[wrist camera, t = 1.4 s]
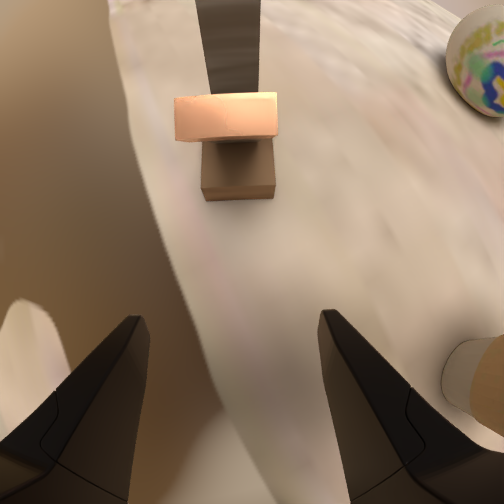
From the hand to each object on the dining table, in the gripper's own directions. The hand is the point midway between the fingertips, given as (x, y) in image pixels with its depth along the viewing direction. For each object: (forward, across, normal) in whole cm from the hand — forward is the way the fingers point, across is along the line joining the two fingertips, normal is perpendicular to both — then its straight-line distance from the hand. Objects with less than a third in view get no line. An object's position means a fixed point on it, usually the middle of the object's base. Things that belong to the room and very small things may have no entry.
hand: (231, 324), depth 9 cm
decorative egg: (+26, -29, -8) cm, 40 cm away
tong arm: (+16, 0, -2) cm, 16 cm away
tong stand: (+18, 0, 0) cm, 18 cm away
